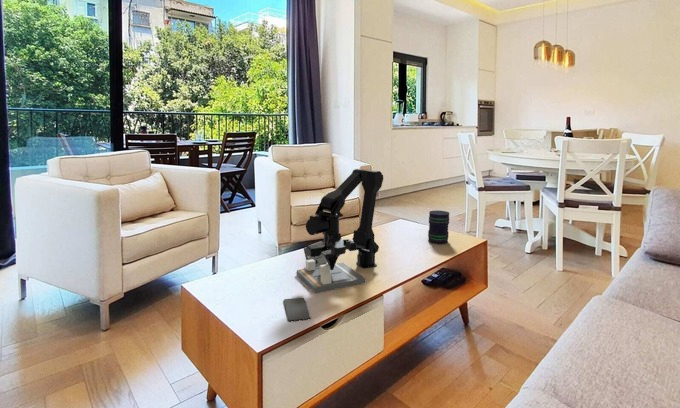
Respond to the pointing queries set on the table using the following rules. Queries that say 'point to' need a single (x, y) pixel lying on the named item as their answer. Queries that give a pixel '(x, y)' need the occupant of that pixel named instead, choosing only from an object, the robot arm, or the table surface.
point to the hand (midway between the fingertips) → (331, 269)
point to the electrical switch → (318, 259)
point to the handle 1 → (310, 265)
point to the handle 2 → (326, 278)
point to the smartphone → (296, 309)
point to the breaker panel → (339, 278)
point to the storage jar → (438, 227)
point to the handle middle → (324, 268)
